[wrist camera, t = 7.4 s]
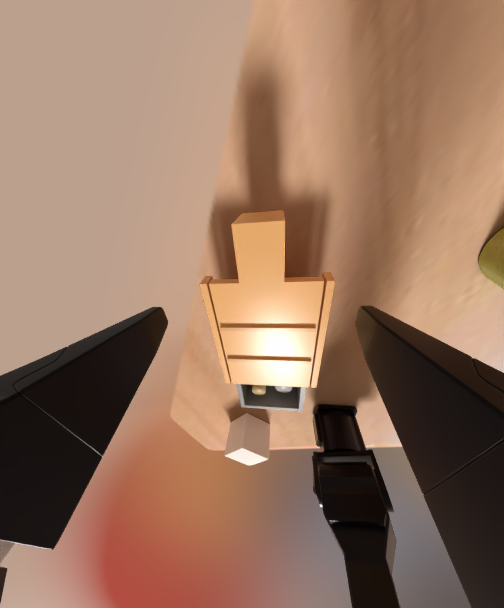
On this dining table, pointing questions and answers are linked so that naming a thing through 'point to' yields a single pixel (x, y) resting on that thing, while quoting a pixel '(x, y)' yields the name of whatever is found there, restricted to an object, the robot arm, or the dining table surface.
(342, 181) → the dining table surface
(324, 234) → the dining table surface
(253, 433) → the white cube
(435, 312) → the dining table surface
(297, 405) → the tub
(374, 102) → the dining table surface
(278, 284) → the lid
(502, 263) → the plant pot
